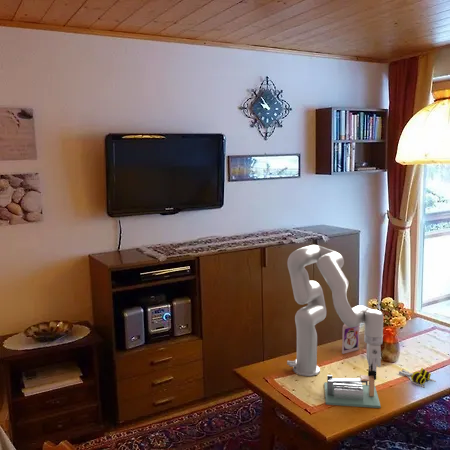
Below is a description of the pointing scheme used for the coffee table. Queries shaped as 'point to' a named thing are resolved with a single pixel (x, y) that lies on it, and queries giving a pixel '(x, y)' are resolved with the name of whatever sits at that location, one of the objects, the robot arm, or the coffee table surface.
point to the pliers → (410, 377)
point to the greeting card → (350, 338)
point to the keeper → (371, 383)
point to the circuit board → (366, 402)
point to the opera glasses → (421, 376)
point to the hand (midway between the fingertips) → (372, 378)
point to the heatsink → (344, 390)
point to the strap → (348, 380)
